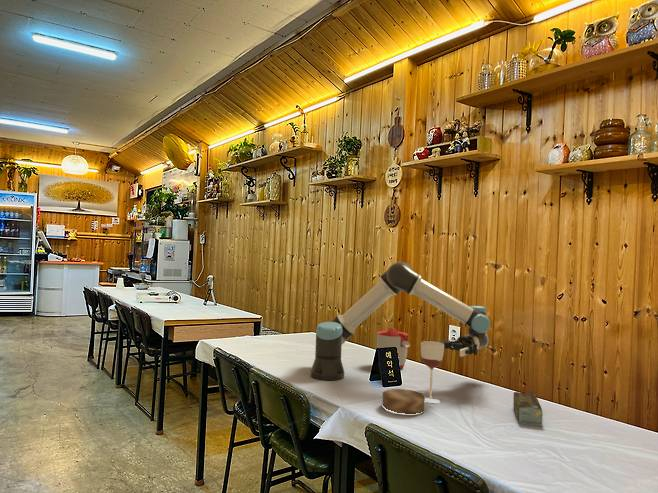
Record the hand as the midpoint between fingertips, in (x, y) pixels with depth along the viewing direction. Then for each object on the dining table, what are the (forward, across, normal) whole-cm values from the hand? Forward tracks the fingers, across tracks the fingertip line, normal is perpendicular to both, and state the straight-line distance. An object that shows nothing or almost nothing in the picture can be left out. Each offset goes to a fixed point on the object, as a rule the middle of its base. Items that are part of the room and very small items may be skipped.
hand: (444, 350), depth 195 cm
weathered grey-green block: (0, -33, -19) cm, 38 cm away
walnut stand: (+26, +3, -18) cm, 32 cm away
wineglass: (+10, 0, -18) cm, 21 cm away
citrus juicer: (-24, +40, -18) cm, 50 cm away
